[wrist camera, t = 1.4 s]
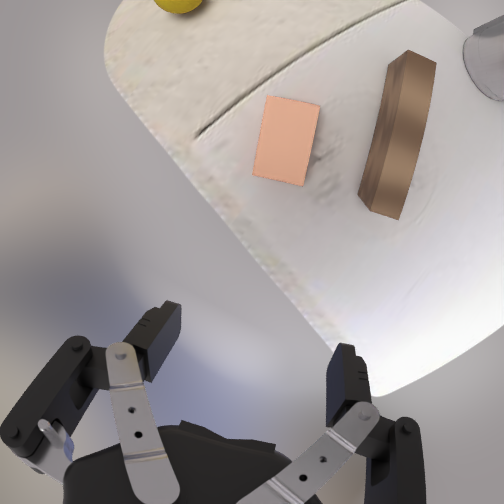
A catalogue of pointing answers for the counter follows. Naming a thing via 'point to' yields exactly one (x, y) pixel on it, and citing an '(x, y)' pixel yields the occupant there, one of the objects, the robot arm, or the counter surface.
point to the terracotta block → (285, 140)
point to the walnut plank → (398, 134)
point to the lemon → (178, 5)
